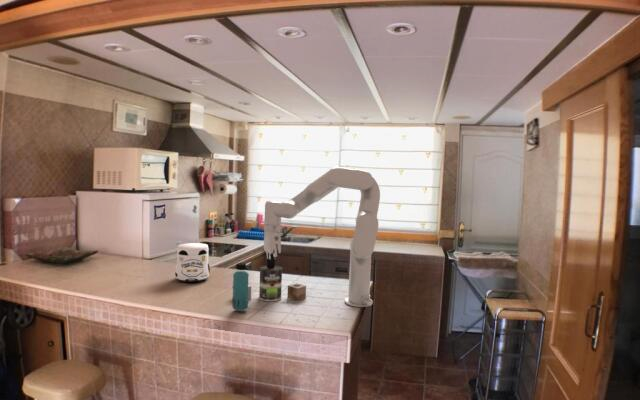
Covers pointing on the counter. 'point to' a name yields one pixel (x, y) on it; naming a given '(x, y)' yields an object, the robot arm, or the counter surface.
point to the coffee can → (270, 283)
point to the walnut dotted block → (296, 292)
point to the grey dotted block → (249, 291)
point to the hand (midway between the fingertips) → (270, 267)
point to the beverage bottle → (240, 288)
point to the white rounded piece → (192, 262)
